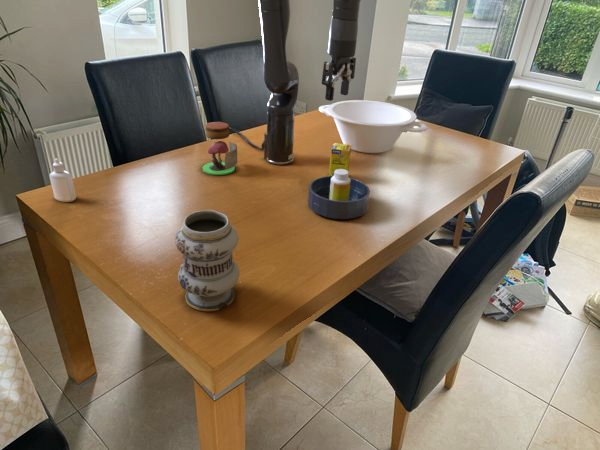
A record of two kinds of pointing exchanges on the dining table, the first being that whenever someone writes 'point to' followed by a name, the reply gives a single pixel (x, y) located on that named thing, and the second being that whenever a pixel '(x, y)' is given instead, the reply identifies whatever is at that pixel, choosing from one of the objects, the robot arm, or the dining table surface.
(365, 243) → the dining table surface
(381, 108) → the white wash basin
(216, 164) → the mushroom terrarium
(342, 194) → the supplement bottle
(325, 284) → the dining table surface
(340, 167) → the supplement box
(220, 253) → the apothecary jar
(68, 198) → the eye dropper bottle
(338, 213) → the bowl
